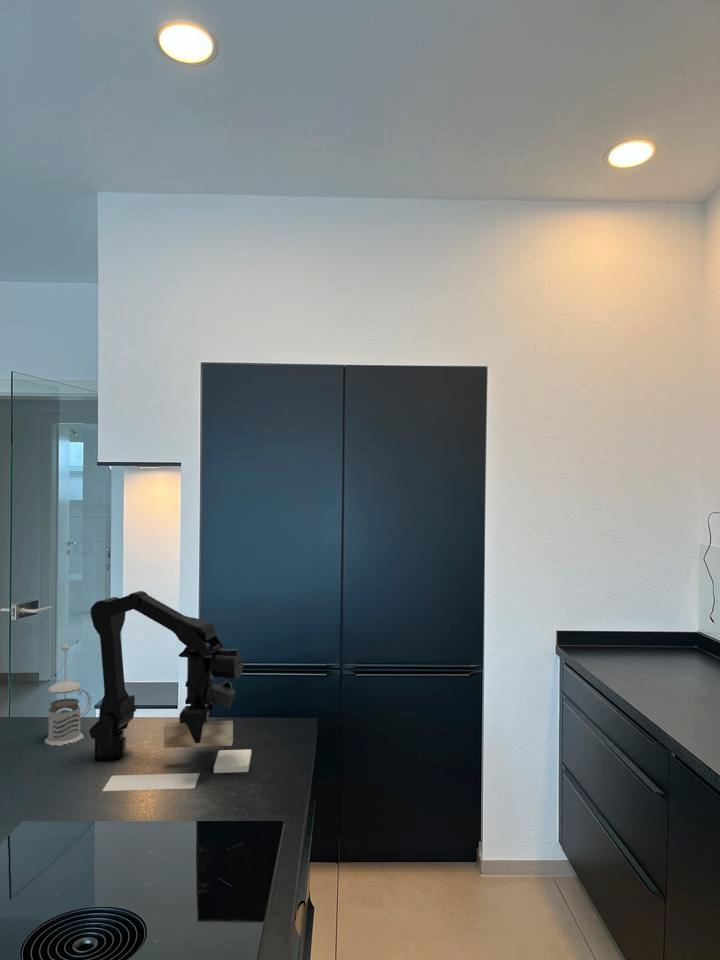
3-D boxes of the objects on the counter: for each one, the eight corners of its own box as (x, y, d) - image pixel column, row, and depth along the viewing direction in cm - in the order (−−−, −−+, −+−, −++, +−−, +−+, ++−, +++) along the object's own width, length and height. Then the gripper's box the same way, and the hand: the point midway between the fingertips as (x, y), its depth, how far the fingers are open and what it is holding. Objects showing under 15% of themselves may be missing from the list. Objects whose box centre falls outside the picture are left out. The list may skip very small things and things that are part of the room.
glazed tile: (213, 766, 160) (248, 765, 160) (219, 750, 169) (251, 749, 170) (213, 777, 159) (248, 776, 160) (218, 760, 169) (251, 759, 170)
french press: (39, 737, 183) (40, 644, 183) (83, 728, 190) (84, 638, 191) (50, 748, 175) (51, 651, 176) (96, 738, 183) (97, 645, 183)
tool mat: (102, 793, 150) (102, 790, 150) (112, 778, 158) (112, 775, 158) (194, 790, 151) (194, 788, 151) (199, 775, 159) (199, 773, 159)
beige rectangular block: (163, 747, 162) (163, 726, 162) (166, 743, 165) (166, 722, 165) (231, 745, 163) (231, 724, 163) (232, 741, 166) (232, 720, 166)
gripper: (228, 686, 156) (228, 754, 156) (236, 665, 174) (235, 726, 174) (179, 687, 155) (178, 755, 155) (192, 665, 173) (191, 727, 173)
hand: (198, 740), depth 164 cm, fingers closed on beige rectangular block, 3 cm apart
